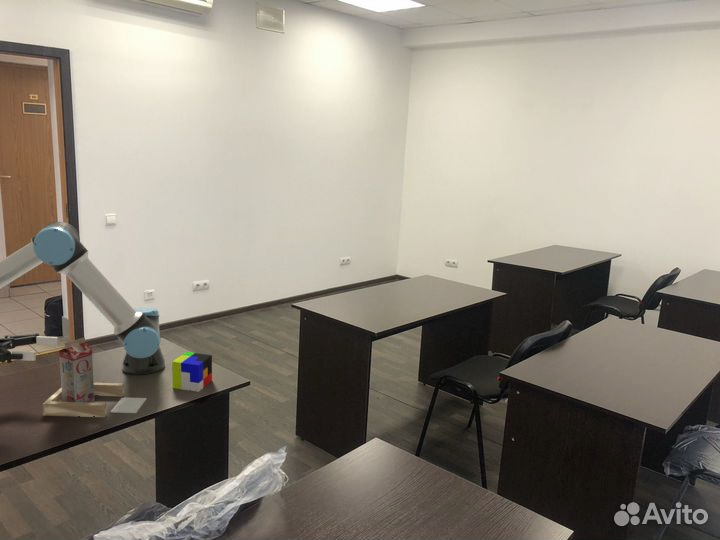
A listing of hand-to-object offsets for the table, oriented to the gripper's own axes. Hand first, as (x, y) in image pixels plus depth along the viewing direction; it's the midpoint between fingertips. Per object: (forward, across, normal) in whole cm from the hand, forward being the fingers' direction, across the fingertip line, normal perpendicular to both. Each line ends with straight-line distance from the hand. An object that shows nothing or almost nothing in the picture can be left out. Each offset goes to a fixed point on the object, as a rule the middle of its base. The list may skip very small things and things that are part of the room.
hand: (46, 348), depth 172 cm
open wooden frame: (+12, +1, -18) cm, 22 cm away
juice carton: (+10, +1, -18) cm, 21 cm away
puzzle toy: (+42, -17, -18) cm, 49 cm away
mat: (+26, +1, -18) cm, 31 cm away
